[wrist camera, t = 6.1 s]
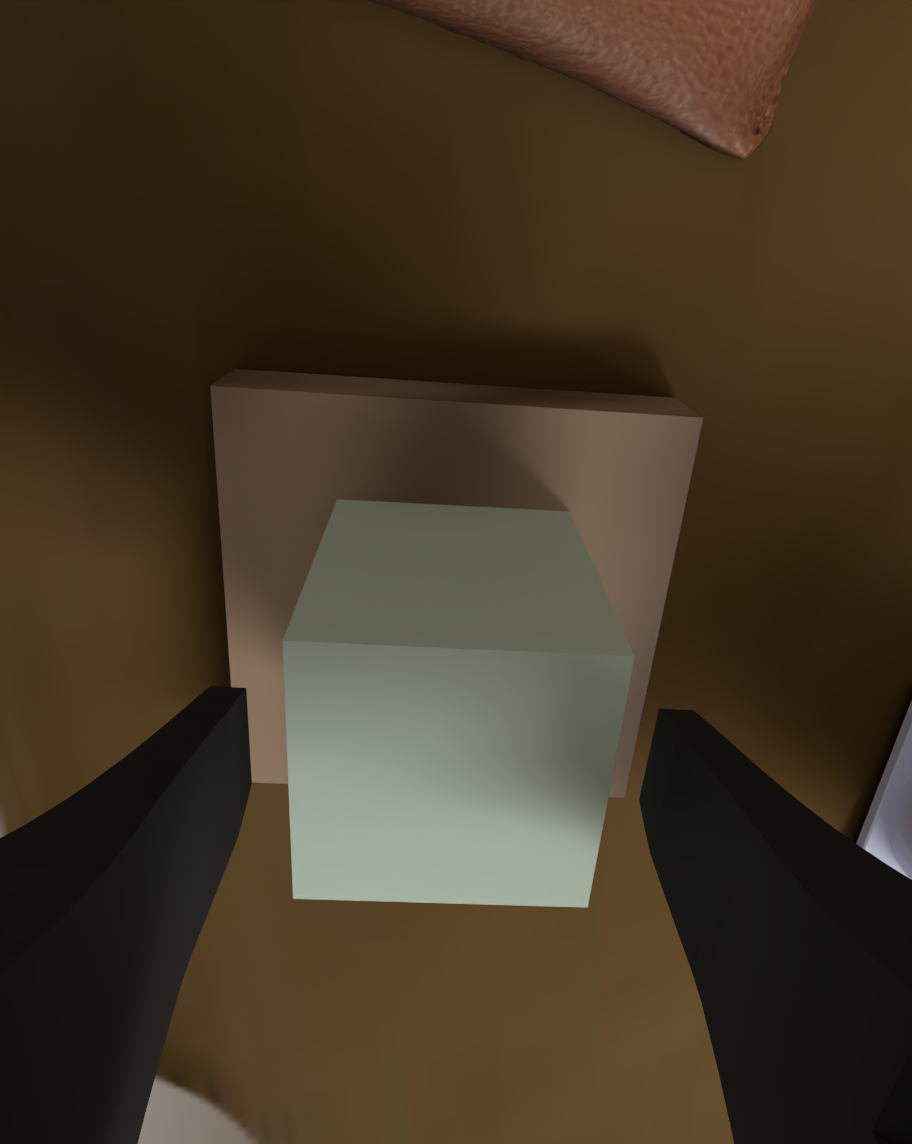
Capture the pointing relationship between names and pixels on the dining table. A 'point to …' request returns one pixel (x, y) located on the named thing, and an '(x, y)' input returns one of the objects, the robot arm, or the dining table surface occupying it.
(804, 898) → the robot arm
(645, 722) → the dining table surface
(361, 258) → the dining table surface
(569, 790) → the green block
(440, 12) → the sunglasses case
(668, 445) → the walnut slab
